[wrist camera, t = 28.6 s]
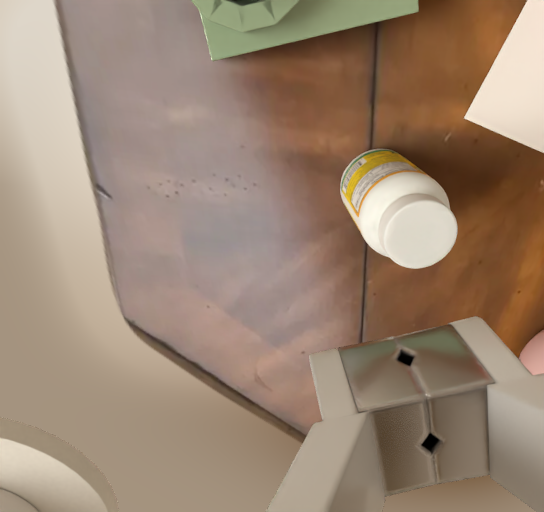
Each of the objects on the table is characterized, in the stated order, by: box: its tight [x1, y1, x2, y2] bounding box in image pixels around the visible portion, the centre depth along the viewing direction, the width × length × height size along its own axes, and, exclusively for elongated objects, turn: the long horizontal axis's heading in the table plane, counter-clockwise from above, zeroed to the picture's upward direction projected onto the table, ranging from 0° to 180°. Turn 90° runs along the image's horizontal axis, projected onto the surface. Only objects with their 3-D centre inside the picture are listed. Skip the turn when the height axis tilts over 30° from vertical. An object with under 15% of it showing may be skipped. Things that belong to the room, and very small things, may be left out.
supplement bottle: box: [340, 149, 458, 268], centre depth 29 cm, size 5×5×10 cm
